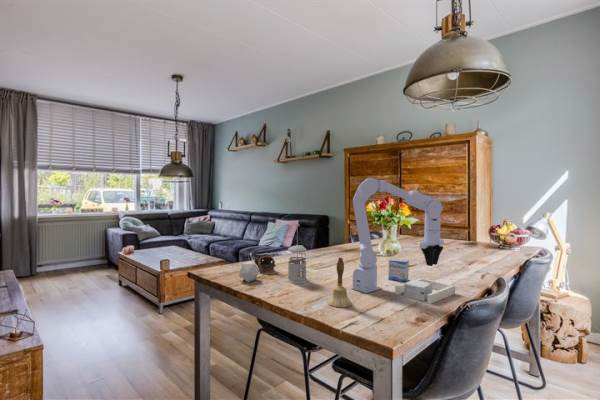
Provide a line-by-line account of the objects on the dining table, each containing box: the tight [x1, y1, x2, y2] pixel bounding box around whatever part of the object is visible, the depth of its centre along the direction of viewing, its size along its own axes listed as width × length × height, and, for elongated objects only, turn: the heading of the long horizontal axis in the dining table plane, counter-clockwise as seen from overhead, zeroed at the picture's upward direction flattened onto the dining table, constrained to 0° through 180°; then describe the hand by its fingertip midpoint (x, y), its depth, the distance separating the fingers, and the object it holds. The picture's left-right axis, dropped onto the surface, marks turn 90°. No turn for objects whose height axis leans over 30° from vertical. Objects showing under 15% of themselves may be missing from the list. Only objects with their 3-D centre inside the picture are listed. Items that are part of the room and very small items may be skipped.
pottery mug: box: [254, 255, 276, 274], centre depth 159 cm, size 12×10×8 cm
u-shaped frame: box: [394, 277, 456, 305], centre depth 125 cm, size 18×14×3 cm
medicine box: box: [387, 258, 410, 283], centre depth 144 cm, size 8×4×9 cm, turn 62°
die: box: [238, 261, 259, 283], centre depth 143 cm, size 8×9×10 cm
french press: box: [285, 222, 309, 285], centre depth 143 cm, size 10×12×25 cm
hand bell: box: [327, 257, 353, 308], centre depth 114 cm, size 8×8×16 cm
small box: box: [403, 279, 433, 302], centre depth 122 cm, size 8×8×5 cm
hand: (431, 264), depth 127 cm, fingers open, 3 cm apart
